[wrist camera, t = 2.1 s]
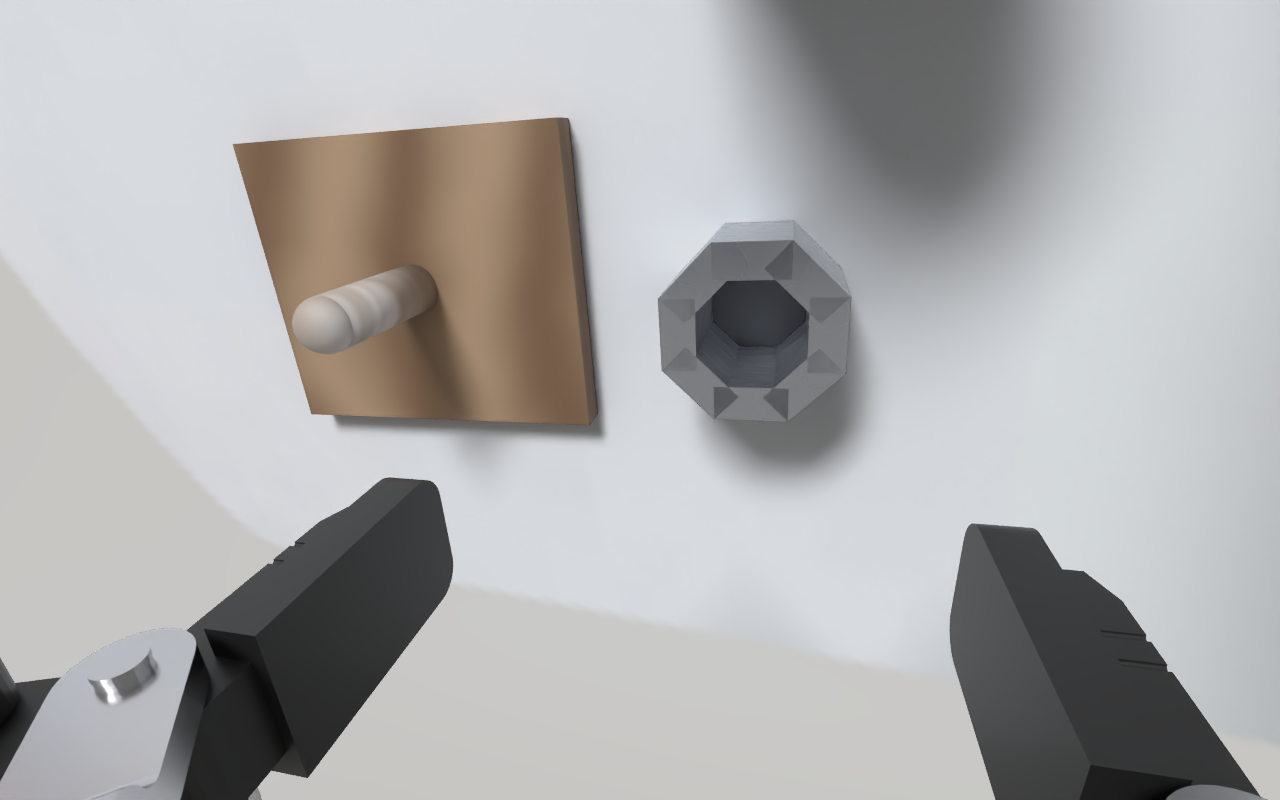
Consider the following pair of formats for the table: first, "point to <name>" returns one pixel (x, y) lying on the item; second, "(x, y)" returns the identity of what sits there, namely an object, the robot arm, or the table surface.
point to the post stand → (430, 270)
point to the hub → (756, 374)
